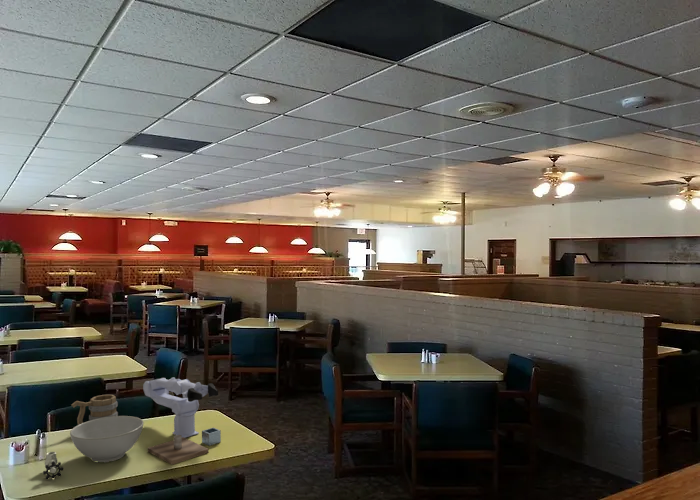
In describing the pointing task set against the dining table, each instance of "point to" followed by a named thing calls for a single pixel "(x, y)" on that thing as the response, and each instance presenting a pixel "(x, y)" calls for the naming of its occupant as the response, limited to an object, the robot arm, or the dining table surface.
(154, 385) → the robot arm
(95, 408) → the tankard
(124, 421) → the decorative bowl
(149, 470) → the dining table surface
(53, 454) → the valve
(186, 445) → the post board
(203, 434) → the collar
